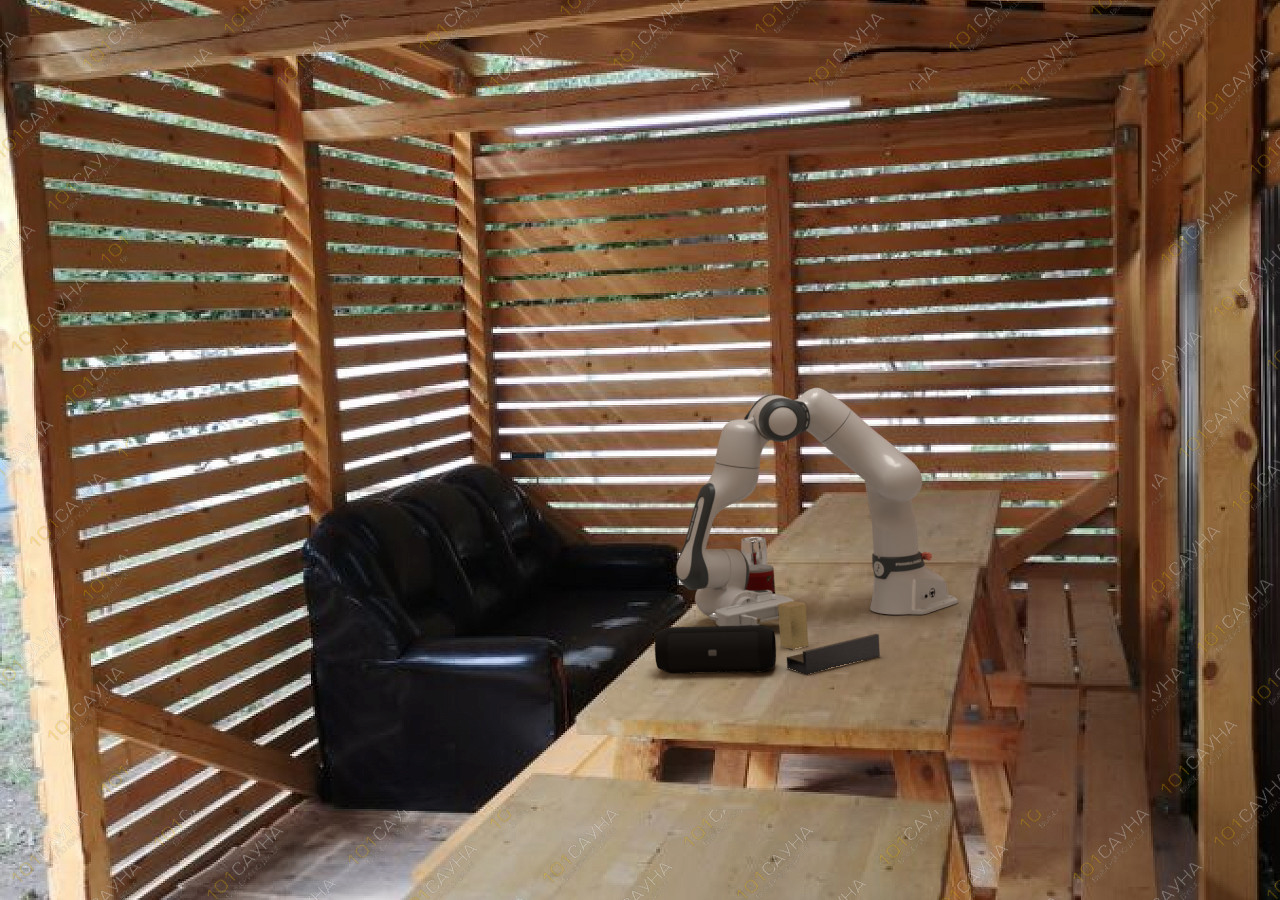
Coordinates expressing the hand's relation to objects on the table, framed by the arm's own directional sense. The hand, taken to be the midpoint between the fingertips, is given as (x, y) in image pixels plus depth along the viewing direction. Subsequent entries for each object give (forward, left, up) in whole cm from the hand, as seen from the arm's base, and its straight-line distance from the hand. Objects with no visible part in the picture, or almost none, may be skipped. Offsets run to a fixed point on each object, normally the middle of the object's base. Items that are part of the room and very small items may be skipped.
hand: (774, 617), depth 315 cm
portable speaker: (+24, +11, -6) cm, 27 cm away
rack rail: (+2, +24, -5) cm, 25 cm away
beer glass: (-26, -45, -6) cm, 52 cm away
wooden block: (0, +7, -6) cm, 9 cm away
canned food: (-16, -29, -6) cm, 33 cm away
